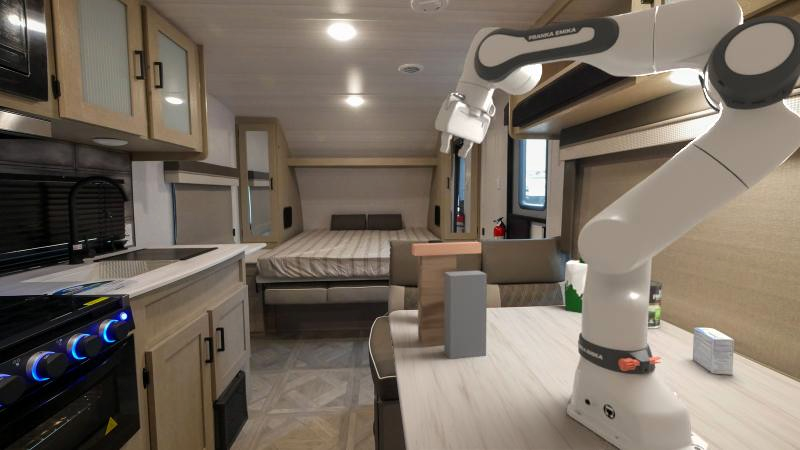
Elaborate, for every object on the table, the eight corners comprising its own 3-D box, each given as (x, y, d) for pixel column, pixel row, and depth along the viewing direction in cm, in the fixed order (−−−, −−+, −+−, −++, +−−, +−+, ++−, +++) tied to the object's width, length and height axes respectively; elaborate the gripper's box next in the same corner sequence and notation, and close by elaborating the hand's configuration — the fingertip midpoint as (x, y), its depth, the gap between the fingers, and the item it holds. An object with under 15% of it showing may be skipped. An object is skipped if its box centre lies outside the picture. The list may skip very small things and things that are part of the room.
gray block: (486, 355, 97) (486, 274, 95) (450, 359, 95) (450, 276, 93) (478, 348, 102) (478, 270, 100) (444, 351, 100) (444, 272, 98)
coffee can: (664, 323, 120) (666, 281, 119) (655, 331, 113) (657, 287, 112) (628, 316, 128) (630, 277, 127) (618, 323, 121) (619, 281, 120)
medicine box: (733, 375, 85) (735, 339, 84) (711, 374, 86) (713, 338, 85) (711, 361, 93) (713, 327, 92) (691, 359, 94) (693, 326, 93)
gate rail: (481, 253, 105) (481, 242, 105) (414, 255, 101) (414, 245, 101) (477, 251, 108) (477, 241, 108) (412, 254, 104) (411, 243, 104)
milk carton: (589, 314, 130) (590, 259, 128) (562, 310, 135) (563, 257, 134) (593, 308, 137) (594, 256, 136) (567, 304, 142) (568, 254, 141)
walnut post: (456, 344, 105) (456, 254, 103) (422, 347, 102) (422, 256, 101) (450, 337, 109) (450, 252, 108) (418, 340, 107) (417, 253, 106)
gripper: (463, 91, 79) (443, 153, 82) (498, 111, 95) (480, 162, 99) (439, 86, 82) (421, 145, 85) (477, 106, 98) (460, 156, 102)
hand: (453, 154), depth 92 cm, fingers open, 8 cm apart
